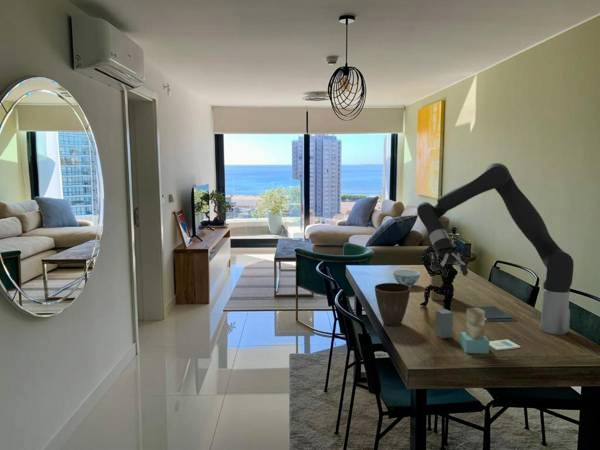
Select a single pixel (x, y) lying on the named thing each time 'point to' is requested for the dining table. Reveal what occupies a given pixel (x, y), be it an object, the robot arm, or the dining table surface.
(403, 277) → the chinaware
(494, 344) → the card
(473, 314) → the maple block
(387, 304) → the plant pot
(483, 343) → the teal base block
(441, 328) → the charcoal block
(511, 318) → the dark blue-grey book
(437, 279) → the wooden block
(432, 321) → the dining table surface
